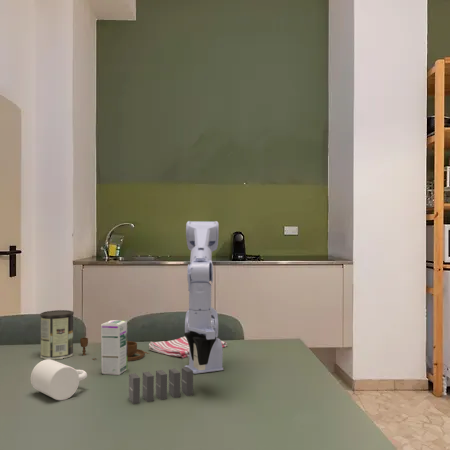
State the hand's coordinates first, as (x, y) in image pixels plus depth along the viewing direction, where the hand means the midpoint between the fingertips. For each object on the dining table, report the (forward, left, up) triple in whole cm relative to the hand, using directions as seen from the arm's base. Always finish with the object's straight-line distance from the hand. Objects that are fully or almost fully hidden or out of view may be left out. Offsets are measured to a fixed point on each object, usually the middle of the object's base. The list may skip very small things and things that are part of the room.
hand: (199, 362), depth 125 cm
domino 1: (+17, 0, -7) cm, 19 cm away
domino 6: (0, 0, -2) cm, 2 cm away
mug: (+32, -13, -8) cm, 35 cm away
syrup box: (+16, -26, -8) cm, 31 cm away
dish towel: (-14, -44, -8) cm, 47 cm away
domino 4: (+7, 0, -7) cm, 10 cm away
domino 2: (+14, 0, -7) cm, 15 cm away
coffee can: (+29, -52, -8) cm, 60 cm away
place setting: (+11, -45, -8) cm, 47 cm away
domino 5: (+3, 0, -7) cm, 8 cm away
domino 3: (+10, 0, -7) cm, 13 cm away
